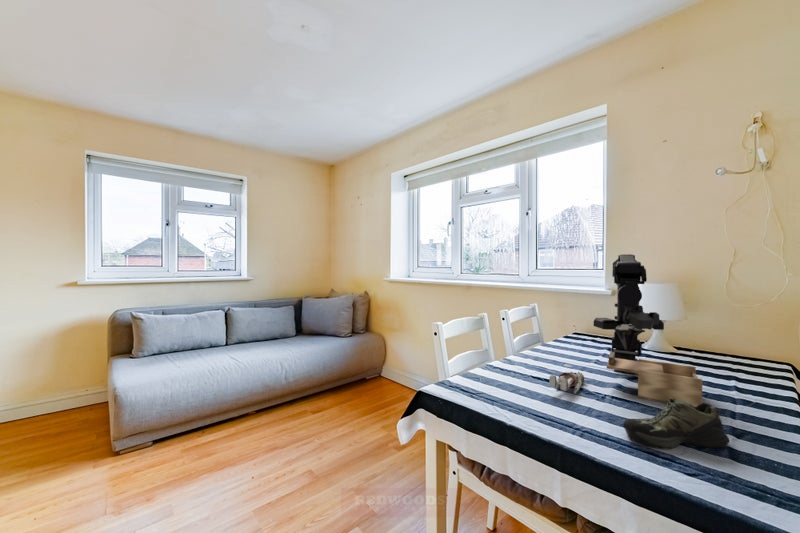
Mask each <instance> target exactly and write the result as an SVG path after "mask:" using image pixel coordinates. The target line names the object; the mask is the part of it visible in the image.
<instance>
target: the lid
mask: <svg viewBox="0 0 800 533" xmlns="http://www.w3.org/2000/svg"><path fill="white" fill-rule="evenodd" d="M606 369H608V370H619V371H625V372H631V373H636V374H637V375H638V369H640V370H647V371H653V372H659V373H664V372H663V367H662V365H660V364H654V363H647V362H640V361H638V360H637V361H633V360H626V359H619V358H615V352H612V351H610V352H609V355H608V360H607V364H606ZM619 371H618V372H619ZM625 372H624V373H625ZM631 373H630V374H631Z"/></svg>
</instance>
